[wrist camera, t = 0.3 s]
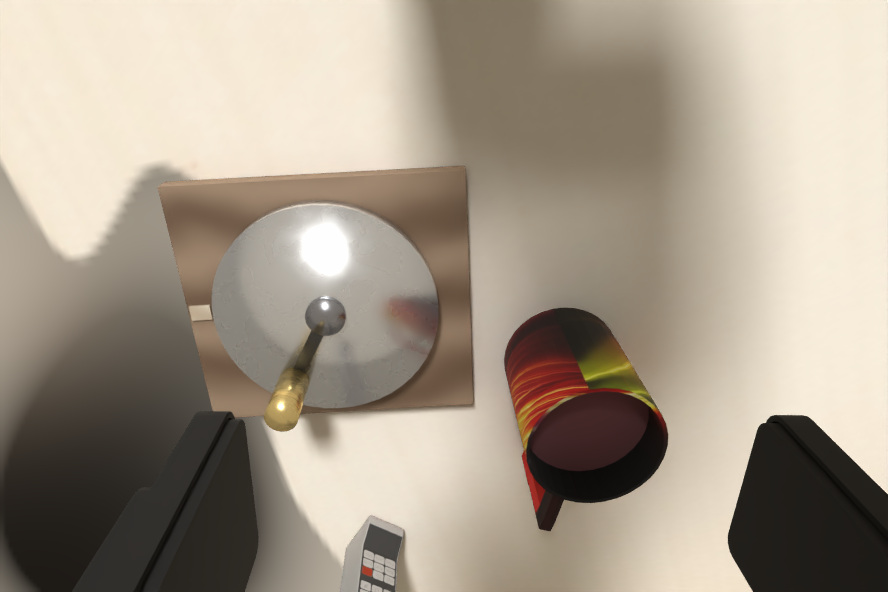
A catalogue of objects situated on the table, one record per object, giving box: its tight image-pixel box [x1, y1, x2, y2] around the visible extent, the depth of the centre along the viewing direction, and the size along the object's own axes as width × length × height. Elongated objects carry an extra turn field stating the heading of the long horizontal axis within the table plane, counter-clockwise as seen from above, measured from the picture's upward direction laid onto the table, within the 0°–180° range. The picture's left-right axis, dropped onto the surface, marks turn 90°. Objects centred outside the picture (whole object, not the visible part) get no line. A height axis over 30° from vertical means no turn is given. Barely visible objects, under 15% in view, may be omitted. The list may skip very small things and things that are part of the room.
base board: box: [158, 166, 473, 417], centre depth 48 cm, size 20×22×2 cm
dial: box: [212, 200, 438, 431], centre depth 44 cm, size 17×17×6 cm
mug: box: [504, 308, 668, 531], centre depth 47 cm, size 10×14×12 cm
